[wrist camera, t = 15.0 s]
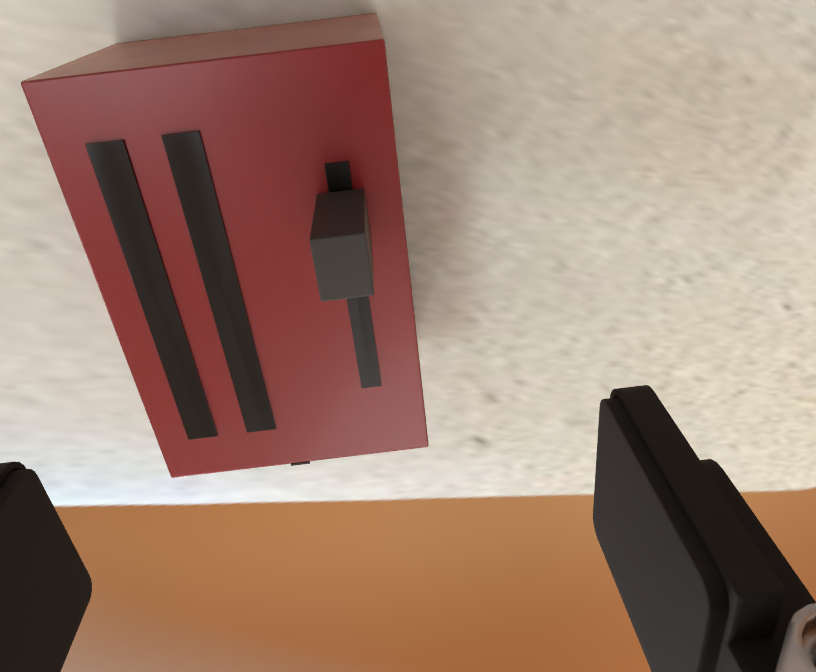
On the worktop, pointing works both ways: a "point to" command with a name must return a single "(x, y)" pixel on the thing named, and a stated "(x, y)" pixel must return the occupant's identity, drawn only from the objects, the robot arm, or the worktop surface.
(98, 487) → the worktop surface
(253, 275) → the toaster
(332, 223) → the slider
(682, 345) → the worktop surface
